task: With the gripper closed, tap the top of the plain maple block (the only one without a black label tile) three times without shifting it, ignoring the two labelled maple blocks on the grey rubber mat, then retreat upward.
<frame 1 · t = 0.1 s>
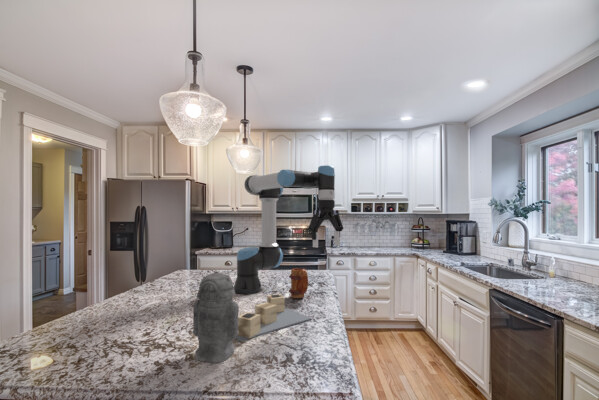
hand: (326, 246, 131), 28 cm above the countertop, fingers open, 13 cm apart
mug: (299, 299, 145), on the countertop
figurine: (214, 355, 88), on the countertop
plain block: (265, 320, 114), point 1 cm above the countertop, touching mat
labelled block a: (275, 310, 126), point 1 cm above the countertop, touching mat
labelled block b: (248, 333, 102), point 1 cm above the countertop, touching mat
mat: (264, 321, 114), on the countertop
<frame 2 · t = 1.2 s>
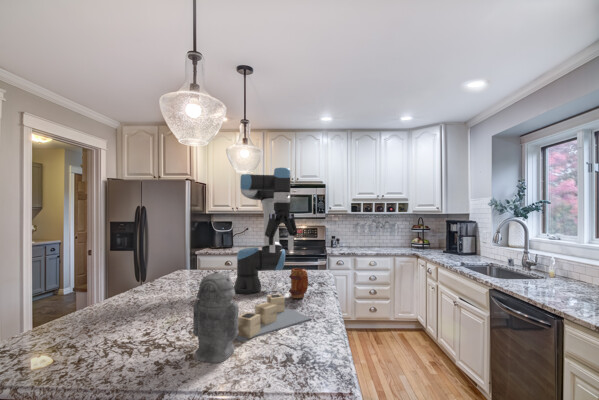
hand: (281, 251, 129), 26 cm above the countertop, fingers open, 11 cm apart
nothing on the countertop moved.
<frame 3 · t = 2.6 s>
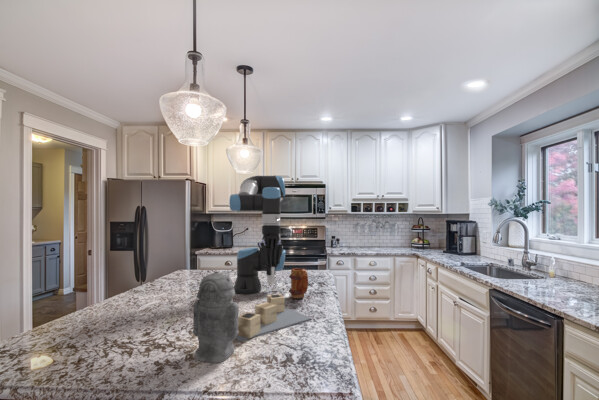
hand: (270, 282, 117), 15 cm above the countertop, fingers closed
nothing on the countertop moved.
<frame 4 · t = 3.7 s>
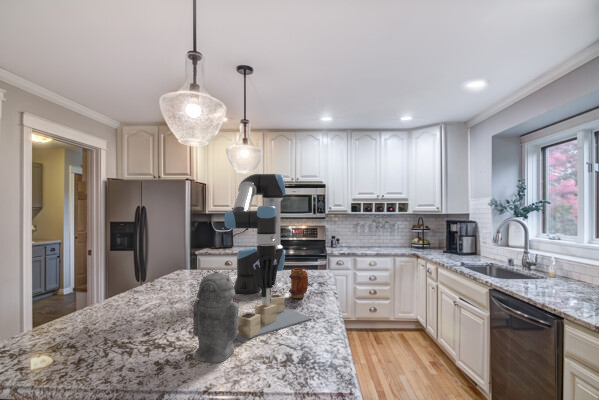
hand: (265, 304, 114), 7 cm above the countertop, fingers closed
nothing on the countertop moved.
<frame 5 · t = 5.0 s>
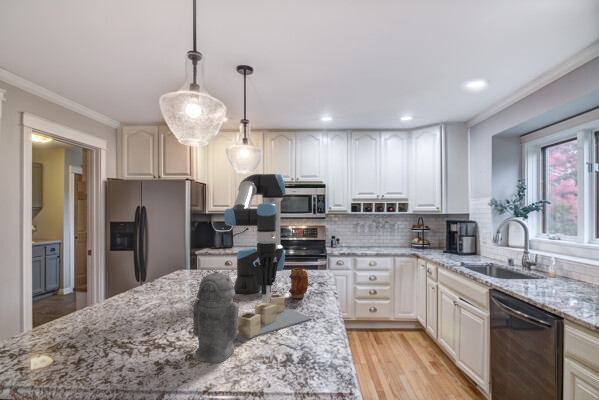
hand: (266, 302, 114), 8 cm above the countertop, fingers closed
nothing on the countertop moved.
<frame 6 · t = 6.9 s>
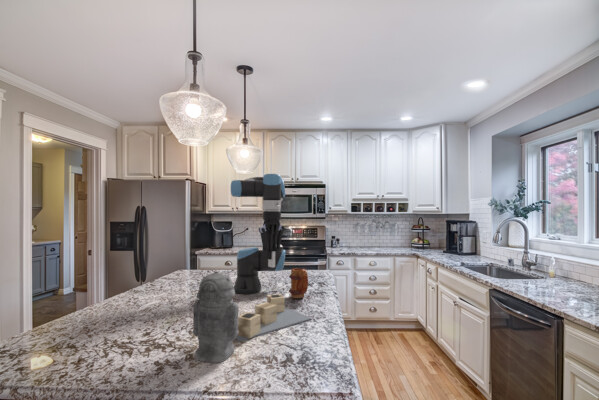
hand: (271, 266, 121), 20 cm above the countertop, fingers closed
nothing on the countertop moved.
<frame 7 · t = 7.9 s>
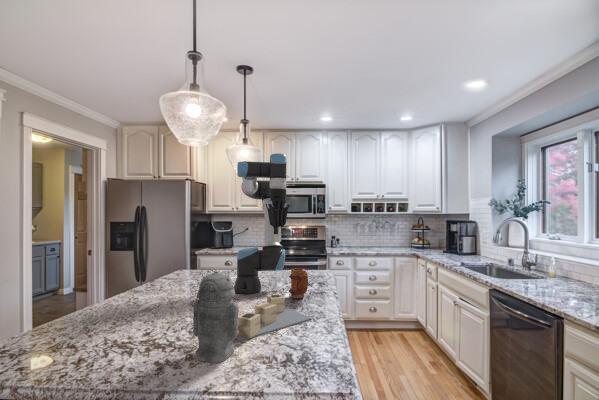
hand: (277, 241, 128), 30 cm above the countertop, fingers closed
nothing on the countertop moved.
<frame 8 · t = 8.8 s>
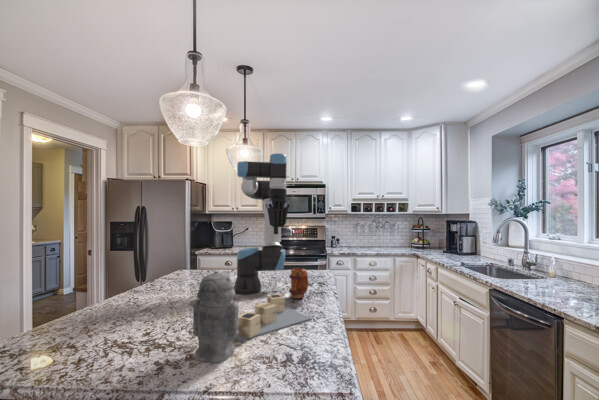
hand: (277, 241, 128), 30 cm above the countertop, fingers closed
nothing on the countertop moved.
at the end: plain block moved 0.1 cm from its start; plain block tilted 0°; labelled block a moved 0.1 cm from its start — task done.
